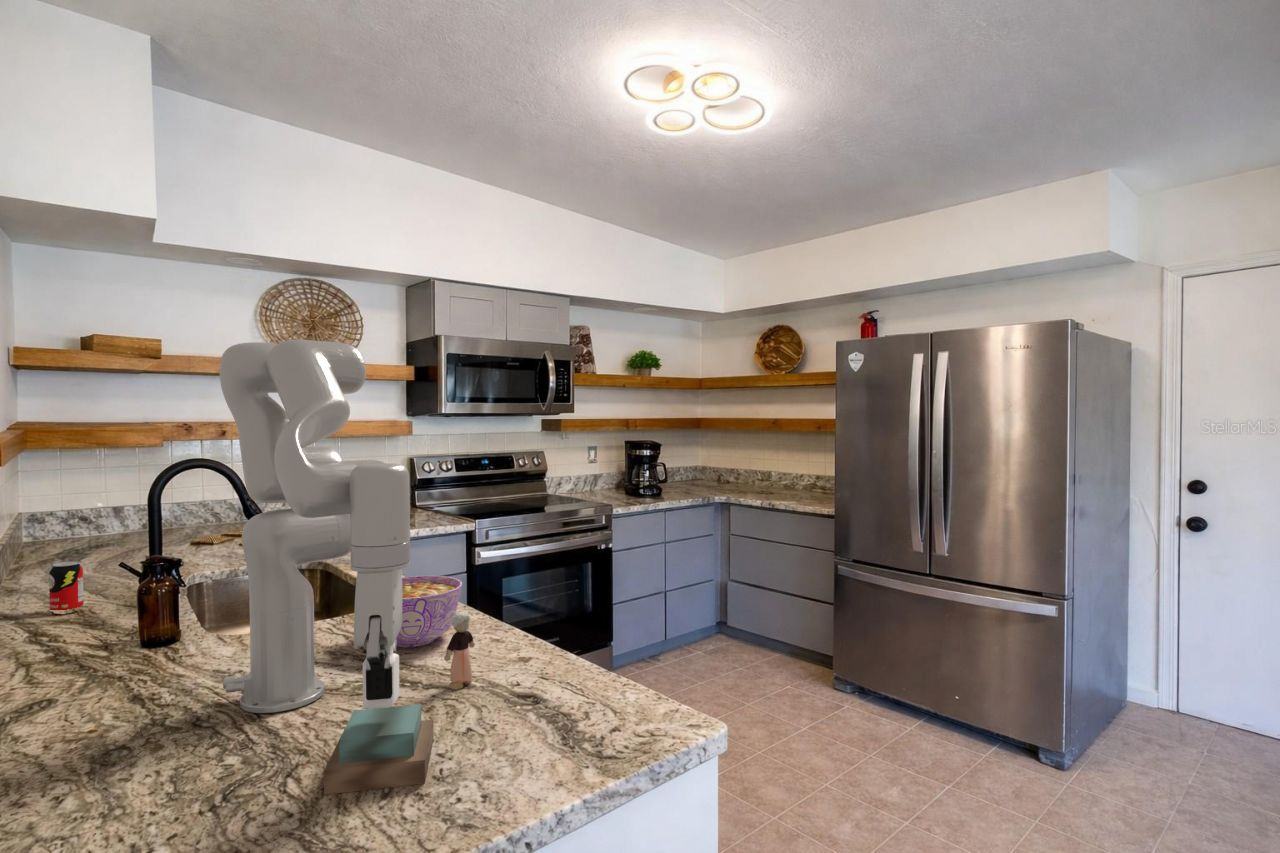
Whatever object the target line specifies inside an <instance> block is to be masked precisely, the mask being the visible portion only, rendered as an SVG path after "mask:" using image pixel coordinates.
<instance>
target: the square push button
mask: <svg viewBox="0 0 1280 853" xmlns="http://www.w3.org/2000/svg"><path fill="white" fill-rule="evenodd" d="M433 744H434V719H426V720H425V719H423V720H422V704H421V703H419V704H418V703H417V704H408V705H398V706H397V705H396V706H392V707H389V708H369V709H367V708H363V709H354V710H353V711H352V713H351V715H350V716H349V720H348V721H347V724H346V726H345V727H344V729H343V731H342V733H341V735H340V738H339V739H338V741H337V744H336V745H335V747H334V750H333V752H332V754H331V756H330V758H329V759H328V762H327V763H326V766H325V767H324V770H323V784H324V785H323V793H324V794H323V795H333V794H341V793H351V792H360V791H366V790H367V791H369V790H376V789H386V788H395V787H404V786H414V785H422V784H425V783H426V781H427V780H426V779H427V775H428V770H429V764H430V760H431V754H432V749H433Z"/></svg>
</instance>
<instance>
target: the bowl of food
mask: <svg viewBox="0 0 1280 853" xmlns="http://www.w3.org/2000/svg"><path fill="white" fill-rule="evenodd" d="M462 586H463V582H462V580H460V579H458V578H456V577H452V576H451V577H450V576H445V575H444V576H443V575H413V576H411V575H410V576H402V598H403V602H402V624H401V629H400V631H399V633H398V636H397V638H396V644H397V647H398V646H400V648H416V646H418V647H422V646H426V645H429V644H431V643H433V641H435V639H438V638H440V637H441V636H443V635H444V634H446V633H447V631H449V629H450V628H451V627H452V623H451V620H452V617H453V616H454V615H455V614H457V609H458V606H459V601H460V596H461V592H462Z"/></svg>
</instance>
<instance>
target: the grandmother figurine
mask: <svg viewBox="0 0 1280 853" xmlns="http://www.w3.org/2000/svg"><path fill="white" fill-rule="evenodd" d="M470 621H471V616H470V614H469V613H467V612H463V611H459V612H456V614H455V615H454V616H453V617H452V620H451V623H452V625H451V627H453V629H454V630H455V633H453V634H452V637H451V639H450V640H449V642H448V645H447V647H446V651H445V656H444V659H443V660H444V661H445V662H449V661H450V660H451V665H450V683H449V684H448V688H450V689H452V690H461V689H462V688H464V685H468V684H471V683H472V679H473V671H472V662H471V655H470V650H469V649H470V648H474V647H475V645H476V644H475V642H474V637H473V635H472V632H470V631H469V630H468V628H469V626H470V624H469V622H470ZM469 647H470V648H469ZM452 654H453V656H452ZM451 656H452V659H451Z"/></svg>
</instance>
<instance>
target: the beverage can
mask: <svg viewBox="0 0 1280 853" xmlns="http://www.w3.org/2000/svg"><path fill="white" fill-rule="evenodd" d="M48 577H49V580H48V582H49V586H48V588H49V611H50V610H67V609H72V608H77V607H80V606H82V605H83V604H84V569H83V566H82V565H81V564H80V561H78V560H77V561H74V560H72V561H63V562H56V563H54V564H52V567H51V569H50V571H49V573H48Z"/></svg>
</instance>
